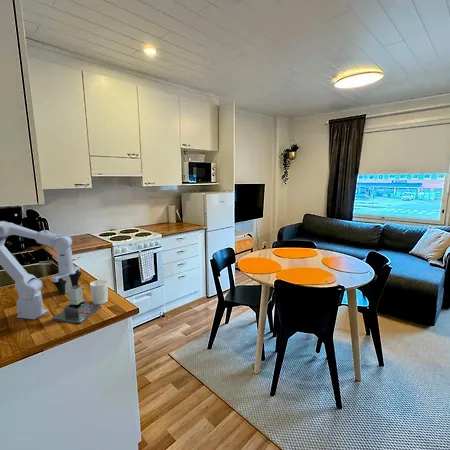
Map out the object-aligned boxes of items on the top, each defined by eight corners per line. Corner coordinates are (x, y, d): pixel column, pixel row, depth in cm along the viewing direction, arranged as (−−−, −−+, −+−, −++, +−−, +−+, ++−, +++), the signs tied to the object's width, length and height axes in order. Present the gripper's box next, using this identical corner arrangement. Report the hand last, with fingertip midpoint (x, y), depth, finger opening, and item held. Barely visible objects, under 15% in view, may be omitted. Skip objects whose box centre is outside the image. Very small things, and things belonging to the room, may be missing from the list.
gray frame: (52, 320, 118) (50, 310, 117) (75, 305, 131) (74, 296, 130) (80, 323, 115) (79, 313, 114) (101, 307, 129) (100, 298, 128)
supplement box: (77, 291, 146) (75, 269, 144) (61, 294, 142) (59, 272, 140) (76, 286, 152) (73, 265, 150) (60, 289, 148) (58, 268, 146)
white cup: (111, 301, 135) (110, 282, 133) (95, 306, 130) (93, 287, 128) (104, 296, 140) (103, 278, 139) (89, 301, 135) (87, 282, 133)
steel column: (69, 304, 120) (67, 288, 119) (75, 299, 124) (74, 285, 123) (77, 304, 120) (75, 289, 118) (83, 300, 124) (82, 285, 122)
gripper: (61, 268, 114) (64, 298, 116) (84, 258, 128) (87, 285, 130) (46, 267, 115) (50, 297, 118) (71, 257, 129) (74, 284, 132)
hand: (68, 290), depth 124 cm, fingers open, 7 cm apart
